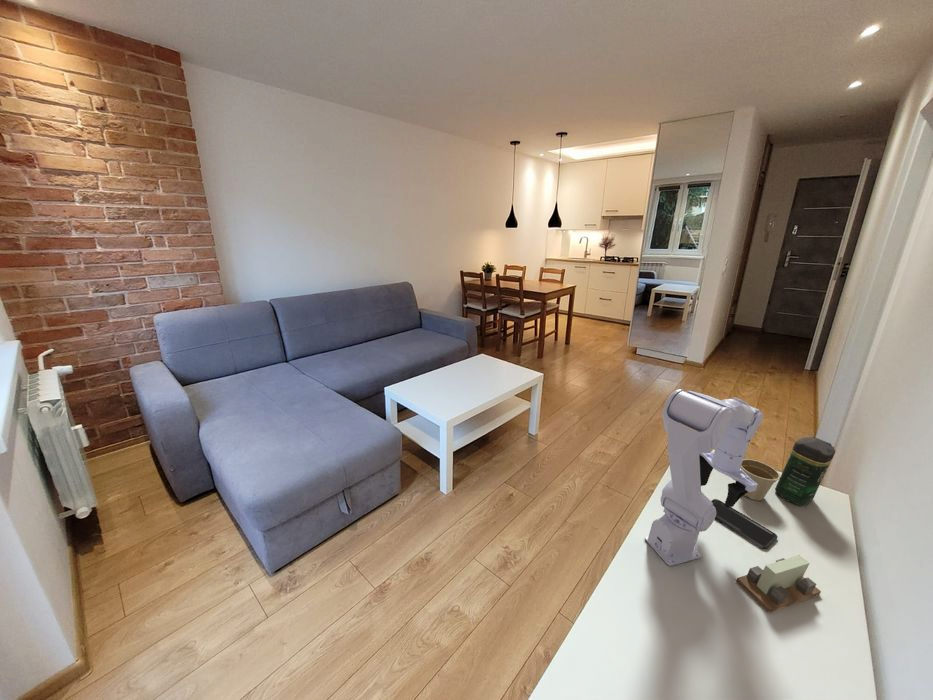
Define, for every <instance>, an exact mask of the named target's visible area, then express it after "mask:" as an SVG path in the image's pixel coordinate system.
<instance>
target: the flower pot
mask: <svg viewBox="0 0 933 700" xmlns="http://www.w3.org/2000/svg"><path fill="white" fill-rule="evenodd" d="M740 468H741V469H742V470H743V471H744V472H745V473H746V474H747V475H748V476H749V477H750V478H751V479H752V480H753V481H754V482H755V483H757V484H758V485H757V488H756V490H755V491H753V492H748V493H746V494H745V495H743V497H748V498H749V499H750V500H753V501H762V500H764V499H765V497H766V496H767V494H768V492H769V491H770V489H771V488H772V486H773V485H774V484H775V483H776V482H778V481H779V479H780V477H781V474H780V472H778V470H776V469H775V468H774V467H772V466H771V465H769V464H766V463H764V462H762V461H759V460H755V459H751V458H744V459H743V462H742V465H741V467H740Z"/></svg>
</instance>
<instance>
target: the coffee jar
mask: <svg viewBox="0 0 933 700" xmlns="http://www.w3.org/2000/svg"><path fill="white" fill-rule="evenodd" d="M790 451H791V452H790V454H789V456H788V458H787V461H786V463H785V465H784V468H783V469H782V473H781V474H780V479H779V480H777V483H776V486H775V488H774V490H775V493H776V494H778V495H779V496H780V497H781V498H783V499H784V500H786V501H788V502H790V503H793V504H795V505H798V506H806V505H809V504H811V502H813V500H814V498H815V496H816V494H817V492H818V490H819V488H820V486H821V484H822V481H823V479H824V477H825V474H826V473H827V471H828V469H829V466H831V465H830V464H831V463H832V460H833V458H834V456H835V454H836V449H835V447H834V446H833V445H832V443H830V442H827V441H826V440H823V439H820V438H818V437H815V436H812V437H811V436H809V437H808V436H807V437H802V438H800V439H798V440H796V441H795V442H794V444H793V447H792V449H791V450H790Z"/></svg>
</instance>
